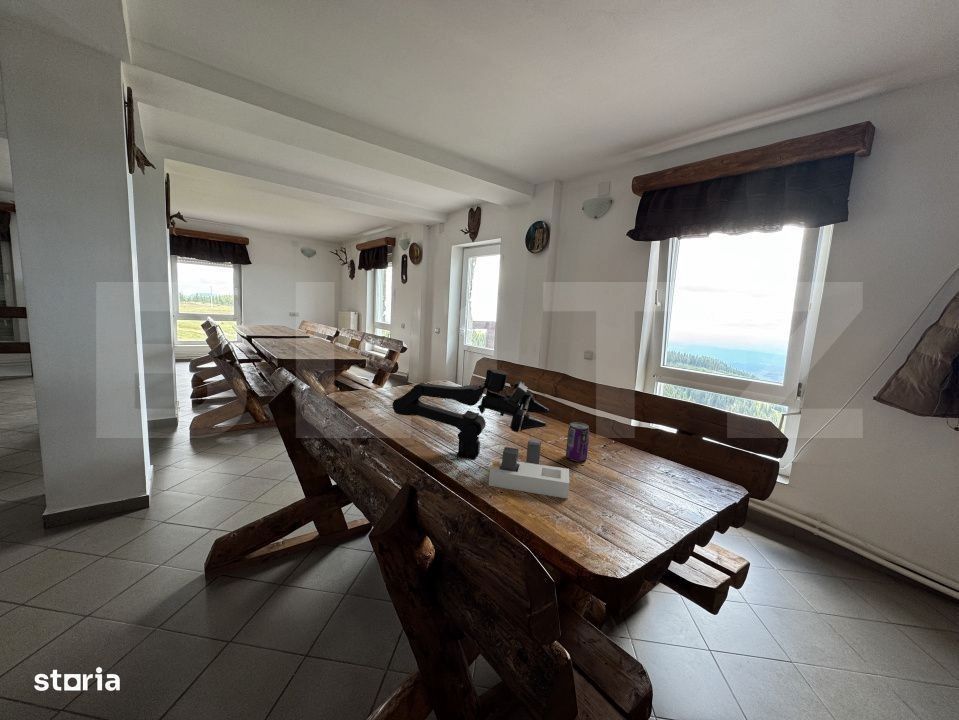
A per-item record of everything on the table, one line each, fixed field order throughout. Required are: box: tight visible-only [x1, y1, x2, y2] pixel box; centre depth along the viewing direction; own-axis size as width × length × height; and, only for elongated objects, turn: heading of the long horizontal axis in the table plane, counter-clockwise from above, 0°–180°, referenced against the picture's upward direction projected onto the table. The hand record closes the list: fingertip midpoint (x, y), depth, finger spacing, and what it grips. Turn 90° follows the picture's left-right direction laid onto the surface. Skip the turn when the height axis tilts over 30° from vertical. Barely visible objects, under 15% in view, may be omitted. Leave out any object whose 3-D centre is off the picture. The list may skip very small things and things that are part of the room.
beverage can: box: [565, 421, 590, 463], centre depth 125 cm, size 7×7×12 cm
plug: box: [525, 437, 542, 465], centre depth 117 cm, size 4×4×9 cm
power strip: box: [488, 446, 570, 500], centre depth 105 cm, size 22×9×10 cm, turn 77°
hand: (547, 417), depth 116 cm, fingers open, 9 cm apart
